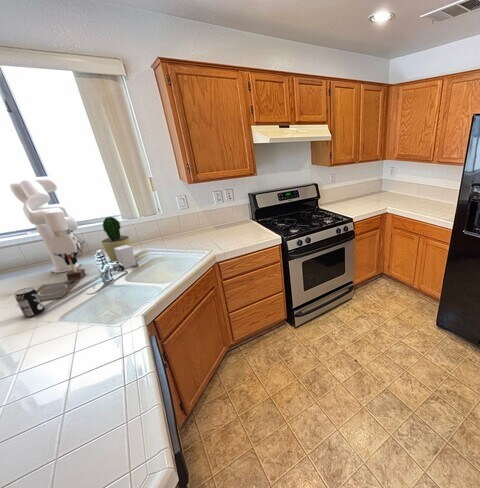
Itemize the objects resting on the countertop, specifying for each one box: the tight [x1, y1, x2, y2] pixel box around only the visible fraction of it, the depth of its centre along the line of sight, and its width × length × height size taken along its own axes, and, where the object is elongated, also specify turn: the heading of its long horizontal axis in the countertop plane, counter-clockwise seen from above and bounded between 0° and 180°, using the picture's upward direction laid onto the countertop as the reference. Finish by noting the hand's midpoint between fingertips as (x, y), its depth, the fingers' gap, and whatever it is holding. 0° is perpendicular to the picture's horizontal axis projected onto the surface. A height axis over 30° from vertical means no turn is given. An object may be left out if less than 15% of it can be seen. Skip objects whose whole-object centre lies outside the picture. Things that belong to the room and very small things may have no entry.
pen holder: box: [65, 268, 87, 281], centre depth 152 cm, size 6×6×4 cm
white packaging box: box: [114, 245, 138, 269], centre depth 165 cm, size 7×7×13 cm
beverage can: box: [14, 286, 45, 318], centre depth 117 cm, size 7×7×12 cm
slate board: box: [35, 279, 81, 302], centre depth 137 cm, size 20×16×1 cm
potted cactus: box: [100, 216, 132, 262], centre depth 171 cm, size 15×15×30 cm
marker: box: [67, 254, 78, 272], centre depth 149 cm, size 2×2×12 cm
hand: (72, 263), depth 149 cm, fingers closed on marker, 2 cm apart
